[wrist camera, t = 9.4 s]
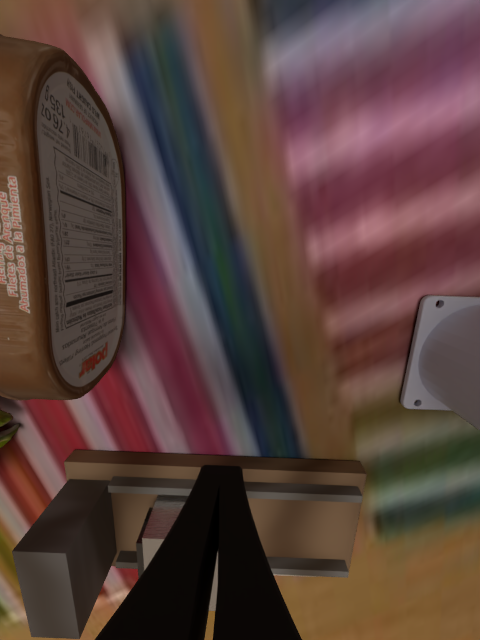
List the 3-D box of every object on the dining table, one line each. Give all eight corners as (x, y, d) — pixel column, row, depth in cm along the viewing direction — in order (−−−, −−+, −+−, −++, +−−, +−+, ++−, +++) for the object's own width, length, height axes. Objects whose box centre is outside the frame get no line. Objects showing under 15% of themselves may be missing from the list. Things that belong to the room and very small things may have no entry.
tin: (81, 112, 14) (-130, -80, 6) (136, 118, 15) (-2, -65, 6) (90, 358, 18) (-37, 441, 10) (135, 362, 18) (45, 448, 10)
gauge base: (359, 461, 20) (408, 546, 14) (342, 560, 22) (378, 669, 16) (74, 449, 20) (3, 530, 14) (88, 549, 22) (32, 654, 16)
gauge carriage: (227, 494, 19) (223, 541, 16) (224, 576, 21) (221, 633, 17) (150, 491, 19) (132, 537, 16) (155, 573, 21) (139, 630, 17)
